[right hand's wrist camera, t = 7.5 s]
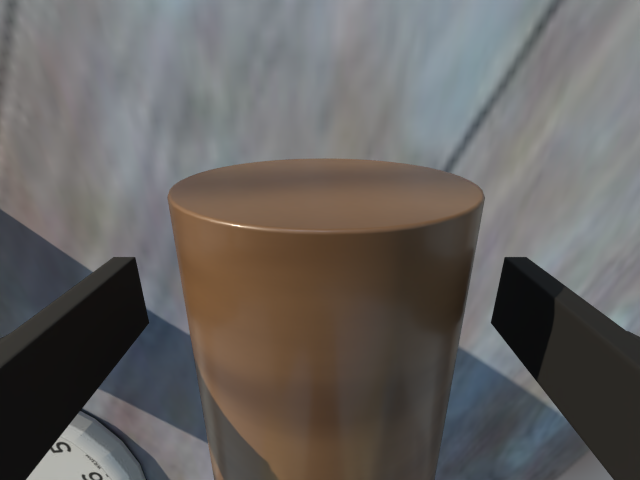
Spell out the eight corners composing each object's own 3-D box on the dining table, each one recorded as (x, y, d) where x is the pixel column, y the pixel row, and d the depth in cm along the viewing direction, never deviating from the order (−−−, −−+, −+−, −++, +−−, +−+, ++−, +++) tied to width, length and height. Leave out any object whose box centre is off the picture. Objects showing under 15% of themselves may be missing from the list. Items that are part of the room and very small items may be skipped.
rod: (219, 158, 15) (87, 229, 6) (429, 158, 15) (569, 230, 6) (259, 542, 25) (227, 766, 16) (385, 543, 25) (418, 768, 16)
